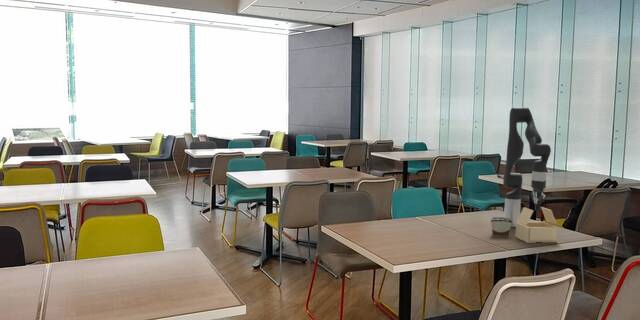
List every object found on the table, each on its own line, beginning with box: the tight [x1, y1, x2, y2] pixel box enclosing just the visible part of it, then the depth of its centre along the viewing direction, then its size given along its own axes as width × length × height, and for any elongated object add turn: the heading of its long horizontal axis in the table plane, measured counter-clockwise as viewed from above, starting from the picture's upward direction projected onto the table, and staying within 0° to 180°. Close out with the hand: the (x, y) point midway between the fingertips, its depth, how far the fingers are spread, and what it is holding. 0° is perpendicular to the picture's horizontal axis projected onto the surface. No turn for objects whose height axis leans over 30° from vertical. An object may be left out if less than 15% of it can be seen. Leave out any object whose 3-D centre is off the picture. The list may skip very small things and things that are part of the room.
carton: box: [514, 221, 559, 244], centre depth 293 cm, size 15×17×8 cm
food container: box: [490, 216, 513, 237], centre depth 303 cm, size 12×6×10 cm, turn 84°
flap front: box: [517, 207, 535, 225], centre depth 291 cm, size 10×1×9 cm, turn 8°
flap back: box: [540, 206, 557, 226], centre depth 293 cm, size 10×1×9 cm, turn 8°
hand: (537, 210), depth 292 cm, fingers closed
